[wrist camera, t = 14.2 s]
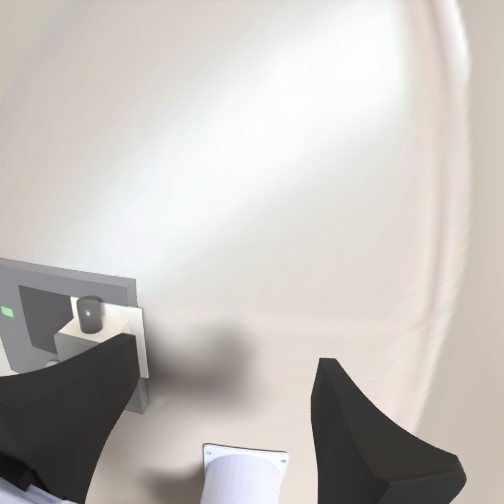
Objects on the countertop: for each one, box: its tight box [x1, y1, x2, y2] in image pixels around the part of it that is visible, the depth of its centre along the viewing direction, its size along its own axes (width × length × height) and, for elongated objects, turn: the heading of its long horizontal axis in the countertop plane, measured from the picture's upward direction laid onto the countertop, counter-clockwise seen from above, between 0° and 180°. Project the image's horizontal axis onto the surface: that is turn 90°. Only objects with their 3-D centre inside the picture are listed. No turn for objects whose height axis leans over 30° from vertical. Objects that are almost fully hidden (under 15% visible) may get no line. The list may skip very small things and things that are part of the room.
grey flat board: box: [0, 258, 149, 414], centre depth 23 cm, size 12×17×2 cm
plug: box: [54, 296, 131, 362], centre depth 20 cm, size 6×4×4 cm, turn 176°
